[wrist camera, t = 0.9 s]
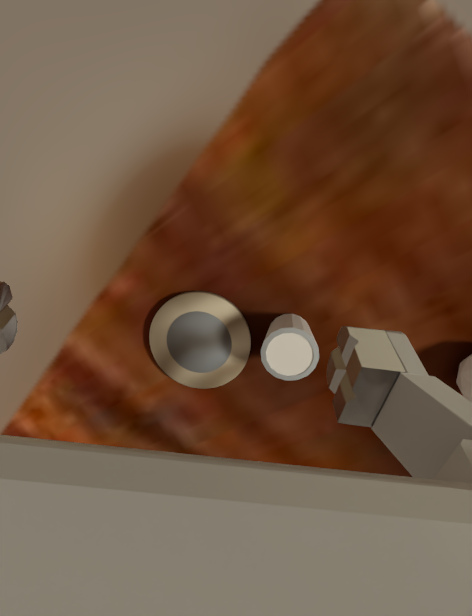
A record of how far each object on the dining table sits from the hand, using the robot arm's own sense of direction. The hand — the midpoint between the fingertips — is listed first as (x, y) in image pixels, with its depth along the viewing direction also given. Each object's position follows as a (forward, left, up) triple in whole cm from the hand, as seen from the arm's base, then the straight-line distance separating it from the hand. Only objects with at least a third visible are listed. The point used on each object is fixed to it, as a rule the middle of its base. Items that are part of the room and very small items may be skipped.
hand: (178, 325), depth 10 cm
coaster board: (-7, +18, -40) cm, 45 cm away
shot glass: (-14, +8, -41) cm, 44 cm away
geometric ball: (-33, -8, -41) cm, 53 cm away
